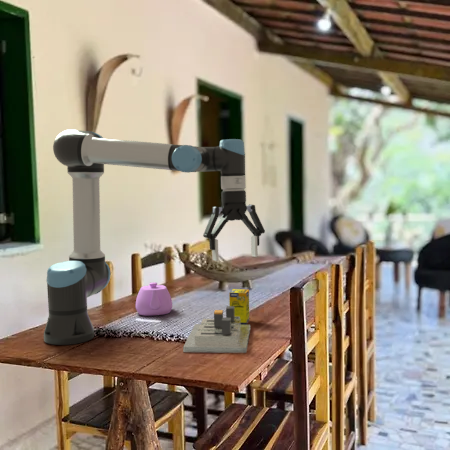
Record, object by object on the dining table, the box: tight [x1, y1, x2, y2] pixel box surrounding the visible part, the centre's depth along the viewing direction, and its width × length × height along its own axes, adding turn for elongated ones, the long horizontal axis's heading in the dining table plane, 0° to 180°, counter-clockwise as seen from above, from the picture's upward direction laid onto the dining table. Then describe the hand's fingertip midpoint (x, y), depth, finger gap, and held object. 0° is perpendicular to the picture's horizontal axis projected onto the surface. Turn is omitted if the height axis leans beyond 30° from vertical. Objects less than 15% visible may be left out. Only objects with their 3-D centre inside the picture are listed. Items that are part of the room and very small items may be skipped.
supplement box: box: [228, 288, 250, 325], centre depth 193 cm, size 6×6×11 cm
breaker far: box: [225, 305, 235, 321], centre depth 180 cm, size 2×3×4 cm
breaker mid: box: [213, 309, 224, 327], centre depth 174 cm, size 2×3×4 cm
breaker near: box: [222, 317, 231, 334], centre depth 167 cm, size 2×3×4 cm
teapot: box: [135, 282, 173, 316], centre depth 208 cm, size 13×20×11 cm
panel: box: [182, 318, 251, 354], centre depth 174 cm, size 18×24×4 cm
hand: (235, 258), depth 178 cm, fingers open, 13 cm apart
